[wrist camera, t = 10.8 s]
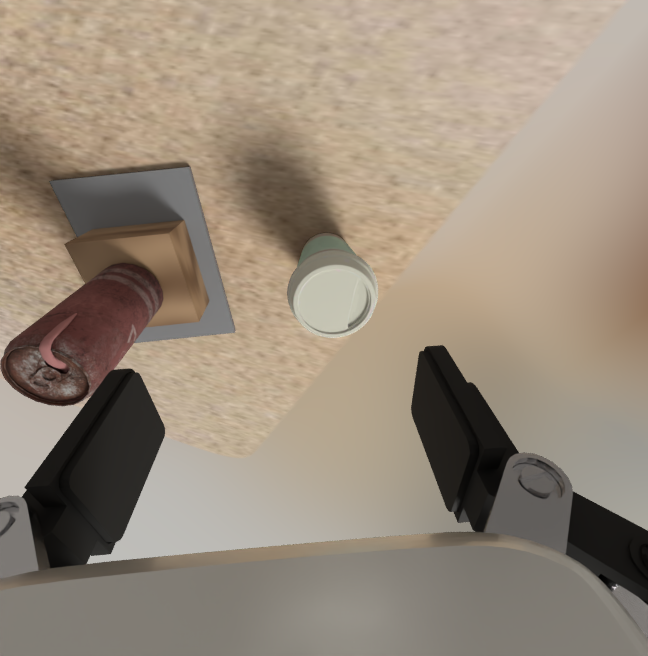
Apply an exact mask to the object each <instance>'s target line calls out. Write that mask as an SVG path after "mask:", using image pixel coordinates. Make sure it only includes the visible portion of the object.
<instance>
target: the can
mask: <svg viewBox="0 0 648 656" xmlns="http://www.w3.org/2000/svg"><path fill="white" fill-rule="evenodd" d="M162 302H163V290H162V288H161V286H160V284H159V282H158V280H157V279H156V278H155V277H154V276H153V275H152V274H151V273H150V272H148V271H147V270H146V269H144V268H142V267H139V266H137V265H134V264H128V263H118V264H113V265H111V266H109V267H107V268H105V269H104V270H103V271H102V272H100V273H99V274H98V275H96V276H95V277H94V278H92V279H91V280H90V281H89V282H87V283H86V284H85V285H83V286H82V287H81V288H79V289H78V290H77V291H75V292H74V293H73V294H72V295H70V296H69V297H68V298H66V299H65V300H64V301H62V302H61V303H60V304H59V305H57V306H56V307H55V308H53V309H52V310H51V311H49V312H48V313H47V314H45V315H44V316H43V317H42V318H40V319H39V320H38V321H36V322H35V323H34V324H32V325H31V326H30V327H29V328H27V329H26V330H25V331H23V332H22V333H21V334H19V335H18V336H17V337H15V338H14V339H13V340H12V341H10V343H9V344H8V346H7V347H6V349H5V352H4V356H3V358H2V359H1V371H2V374H3V376H4V378H5V380H6V381H7V382H8V383H9V384H10V385H11V386H12V387H13V388H14V389H15V390H17V391H18V392H20V393H21V394H23V395H24V396H26V397H28V398H30V399H32V400H34V401H37V402H41V403H44V404H48V405H55V406H67V405H74V404H76V403H79V402H81V401H83V400H84V399H85V398H88V397H90V396H92V395H93V393H94V392H95V391H96V389H97V388H98V386H99V385H100V384H101V382H102V381H103V380H104V378H105V377H106V376H107V374H108V373H109V372H110V371H111V370H114V368H115V367H116V366H117V364H118V363H119V362H120V360H121V359H122V358H123V356H124V355H125V354H126V352H127V351H128V350H129V349H130V347H131V346H132V345H133V343H134V342H135V341H136V339H137V338H138V337H139V335H140V334H141V333H142V331H143V330H144V329H145V327H146V326H147V325H148V323H149V322H150V321H151V319H152V318H153V317H154V315H155V314H156V313H157V311H158V310H159V309H160V307H161V305H162Z"/></svg>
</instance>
